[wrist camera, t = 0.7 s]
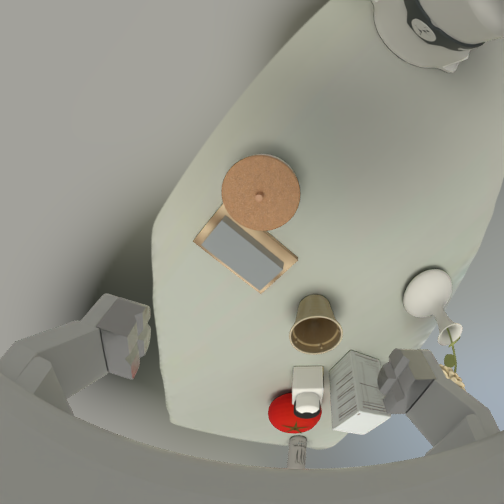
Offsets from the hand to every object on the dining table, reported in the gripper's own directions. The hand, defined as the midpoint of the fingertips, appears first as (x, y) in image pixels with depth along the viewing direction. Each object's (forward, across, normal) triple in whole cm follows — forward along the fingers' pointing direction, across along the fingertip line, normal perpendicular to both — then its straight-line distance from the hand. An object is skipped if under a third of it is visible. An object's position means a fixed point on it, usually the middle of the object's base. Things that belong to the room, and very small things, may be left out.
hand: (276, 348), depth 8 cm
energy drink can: (+44, -30, +82) cm, 98 cm away
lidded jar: (+39, 0, +1) cm, 39 cm away
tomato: (+42, -21, +55) cm, 72 cm away
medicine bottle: (+41, -20, +44) cm, 63 cm away
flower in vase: (+37, -36, +14) cm, 53 cm away
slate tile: (+39, +1, +14) cm, 41 cm away
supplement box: (+40, -30, +38) cm, 62 cm away
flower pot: (+40, -14, +23) cm, 48 cm away
